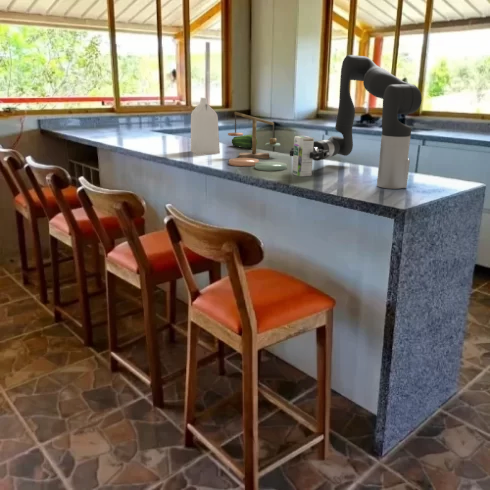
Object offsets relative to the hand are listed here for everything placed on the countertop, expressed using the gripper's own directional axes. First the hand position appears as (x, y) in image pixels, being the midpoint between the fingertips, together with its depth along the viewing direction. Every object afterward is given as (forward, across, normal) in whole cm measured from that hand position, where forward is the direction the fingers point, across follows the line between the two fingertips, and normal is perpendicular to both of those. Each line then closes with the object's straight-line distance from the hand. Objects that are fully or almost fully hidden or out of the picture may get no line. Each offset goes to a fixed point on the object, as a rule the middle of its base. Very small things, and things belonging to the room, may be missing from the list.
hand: (300, 154), depth 178 cm
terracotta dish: (-8, -33, +8) cm, 35 cm away
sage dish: (-7, -18, +8) cm, 21 cm away
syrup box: (-2, 0, +8) cm, 8 cm away
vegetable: (-50, -65, +8) cm, 82 cm away
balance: (-26, -40, +8) cm, 49 cm away
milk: (-23, -69, +8) cm, 73 cm away
